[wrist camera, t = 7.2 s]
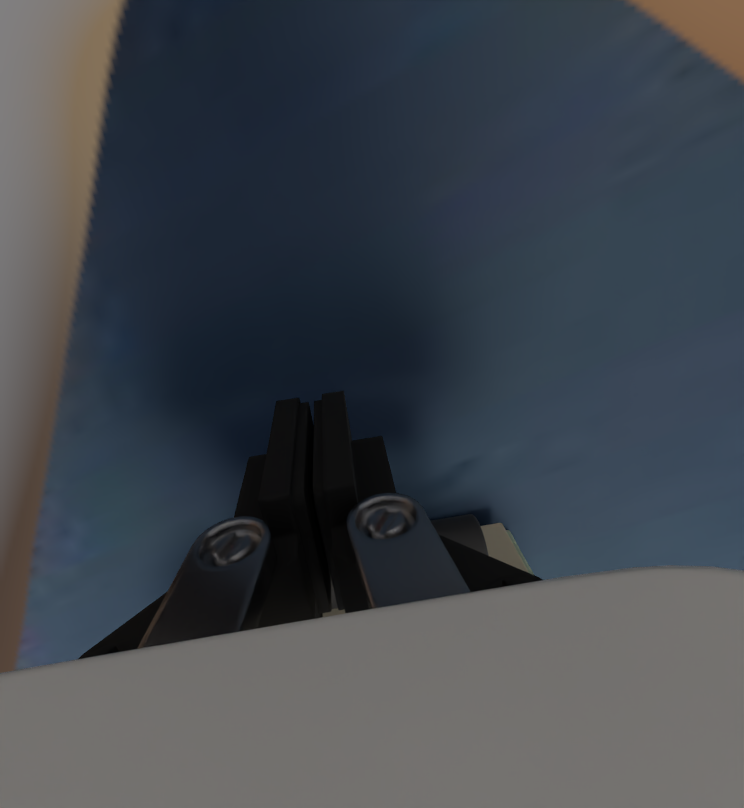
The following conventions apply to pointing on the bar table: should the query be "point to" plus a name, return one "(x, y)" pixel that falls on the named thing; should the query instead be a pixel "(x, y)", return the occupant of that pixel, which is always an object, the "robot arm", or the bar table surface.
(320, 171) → the bar table surface
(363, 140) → the bar table surface
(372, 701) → the robot arm
